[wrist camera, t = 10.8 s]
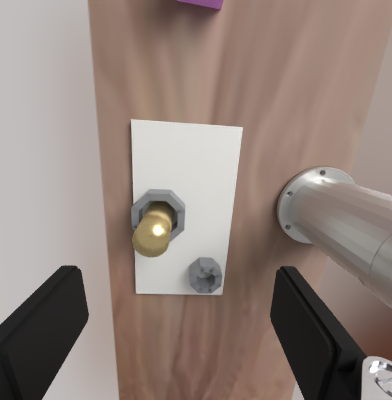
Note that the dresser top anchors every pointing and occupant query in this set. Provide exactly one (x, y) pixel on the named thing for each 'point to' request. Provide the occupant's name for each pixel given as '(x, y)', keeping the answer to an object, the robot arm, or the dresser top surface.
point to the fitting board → (185, 202)
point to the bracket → (205, 3)
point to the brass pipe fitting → (154, 230)
